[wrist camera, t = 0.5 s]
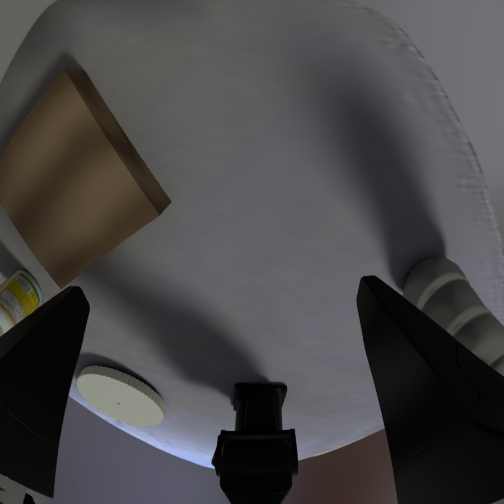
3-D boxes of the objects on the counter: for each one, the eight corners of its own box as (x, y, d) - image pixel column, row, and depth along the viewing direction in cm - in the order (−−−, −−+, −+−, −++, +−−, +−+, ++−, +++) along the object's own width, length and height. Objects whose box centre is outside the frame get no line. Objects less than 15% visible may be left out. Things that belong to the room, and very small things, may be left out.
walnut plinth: (171, 201, 22) (159, 215, 19) (75, 273, 25) (61, 289, 23) (85, 71, 16) (64, 69, 14) (6, 170, 20) (-13, 179, 17)
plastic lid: (151, 366, 32) (145, 381, 30) (177, 418, 39) (174, 431, 36) (68, 354, 33) (61, 366, 31) (104, 406, 39) (100, 417, 37)
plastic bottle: (388, 271, 24) (489, 466, 7) (443, 236, 23) (575, 393, 5) (404, 312, 27) (478, 477, 9) (453, 281, 25) (549, 425, 7)
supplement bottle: (35, 271, 26) (-12, 322, 17) (48, 307, 28) (9, 359, 20) (9, 266, 26) (-36, 310, 17) (21, 300, 28) (-16, 346, 20)
